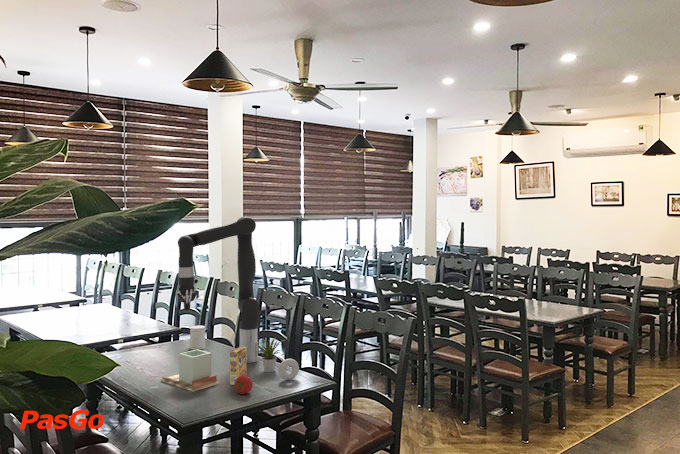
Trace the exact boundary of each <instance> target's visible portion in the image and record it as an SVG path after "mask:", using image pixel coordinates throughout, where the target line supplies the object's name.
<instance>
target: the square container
mask: <svg viewBox="0 0 680 454" xmlns="http://www.w3.org/2000/svg"><path fill="white" fill-rule="evenodd" d="M178 374H179V381H180V382H183V383H186V384H190V385H192V381H194V380H197V379H201V378H204V377H208V376H211V375H212V353H211V352H210V351H205V350H203V349H199V350H198V349H196V350H193V349H191V350H189V351H185V352H180V353H178Z"/></svg>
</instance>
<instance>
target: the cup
mask: <svg viewBox="0 0 680 454" xmlns="http://www.w3.org/2000/svg"><path fill="white" fill-rule="evenodd" d="M189 329H190V331H189V337H190V338H189V341H190V342H189V343H190V344H189V346H190V347H189V348H190V349H191V350H196V349H198V350H203V349H205V348H206V326H205V325H192V326H190V327H189Z"/></svg>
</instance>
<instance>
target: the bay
mask: <svg viewBox="0 0 680 454" xmlns="http://www.w3.org/2000/svg"><path fill="white" fill-rule="evenodd" d="M217 378H218V377H217V375H216V374H211V376H208V377H204V378H201V379H197V380H194V381H192V385H190V384H186V383H183V382H180V381H179V373H178V374H174V375H170V376H162V377H161V378H160V382H163V383H166V384H169V385H172V386H175V387H178V388H181V389H183V390H187V391H190V392H192V393H193V392H197V391H200V390H203V389H204V390H205V389H207V388H210V387H213V386H217V385H219V384H220V382H219V380H218V379H217Z"/></svg>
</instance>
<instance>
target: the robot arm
mask: <svg viewBox="0 0 680 454" xmlns="http://www.w3.org/2000/svg"><path fill="white" fill-rule="evenodd" d="M256 227H257V224H256V221H255V220H254V219H253V218H252V217H250V216H241V217H239V218H238V219H237V221H234V222H233V223H230V224H226V225H222V226H217V227H213V228H208V229H205V230H202V231H198V232H196V233H195V232H194V233H190V234H185V235H183V236H180V238H179V239H178V241H177V246H178V254H179V255H178V272H177V274H178V286H179V287H178V291H177V292H175V293H174V296H175V298H177V299H178V301H179V303H183V310H184V311H186V312H187V311H190V310H191V302H193V301H195V299H196V297H197V296H198V294H199V290H197V289H195V270H194V248H195V247H199V246H205V245H209V244H212V243H214V242H218V241H221V240H225V239H227V238H230V237H231V238H233V237H237V279H238V299H237V300H238V301H237V307H238V310H239V311H240V312H241V321H240V322H239V347H246V356H247V364H249V363H256V362H258V357H259V356H258V351H259V349H258V348H259V346H257V345H259V344H258V343H259V341H258V328H259V327H258V325H259V322H260V304H259V301H257V299H256V298H254V293H253V292H254V291H253V285H254V281H255V277H256V272H257V271H256V270H257V268H256V267H257V266H256V263H257V262H256V256H255V251H254V247H253V243H252V242H253V240H252V239H253V233H254V231H255V229H257V228H256ZM257 341H258V342H257Z"/></svg>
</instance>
